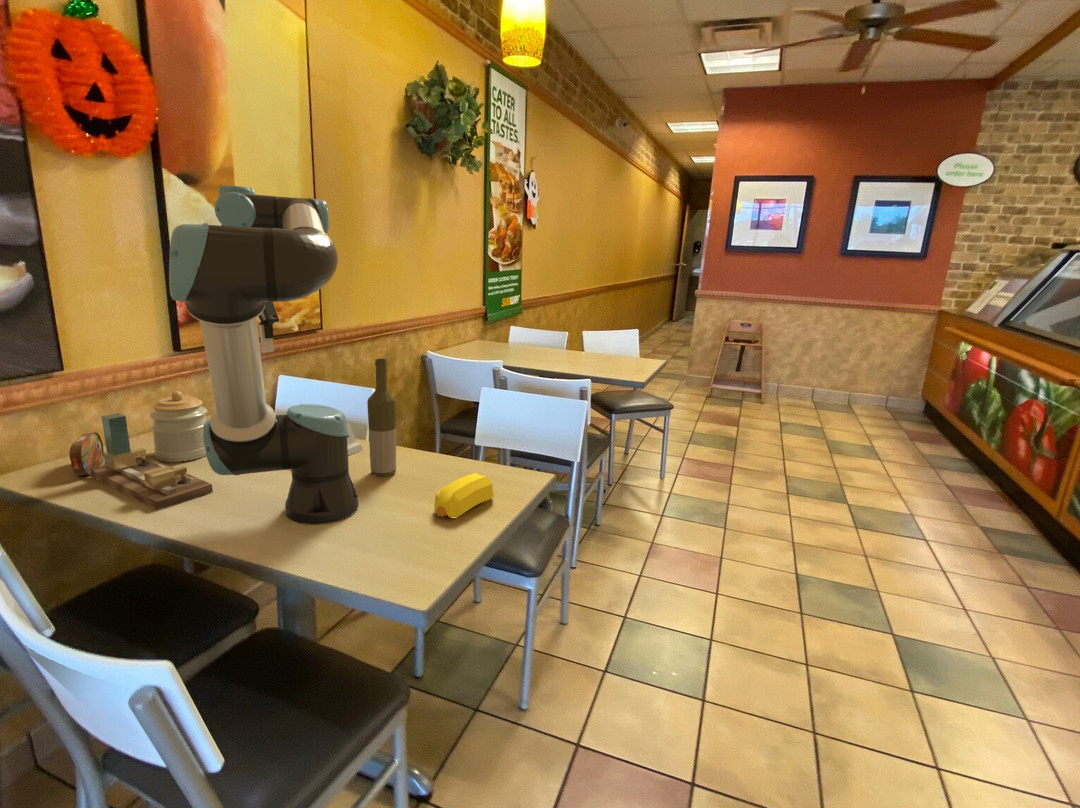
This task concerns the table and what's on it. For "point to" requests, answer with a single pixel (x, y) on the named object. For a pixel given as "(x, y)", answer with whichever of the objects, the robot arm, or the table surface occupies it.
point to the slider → (119, 443)
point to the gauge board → (149, 492)
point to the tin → (86, 453)
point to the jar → (178, 428)
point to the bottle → (382, 425)
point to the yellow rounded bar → (463, 495)
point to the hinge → (352, 441)
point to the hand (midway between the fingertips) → (250, 348)
